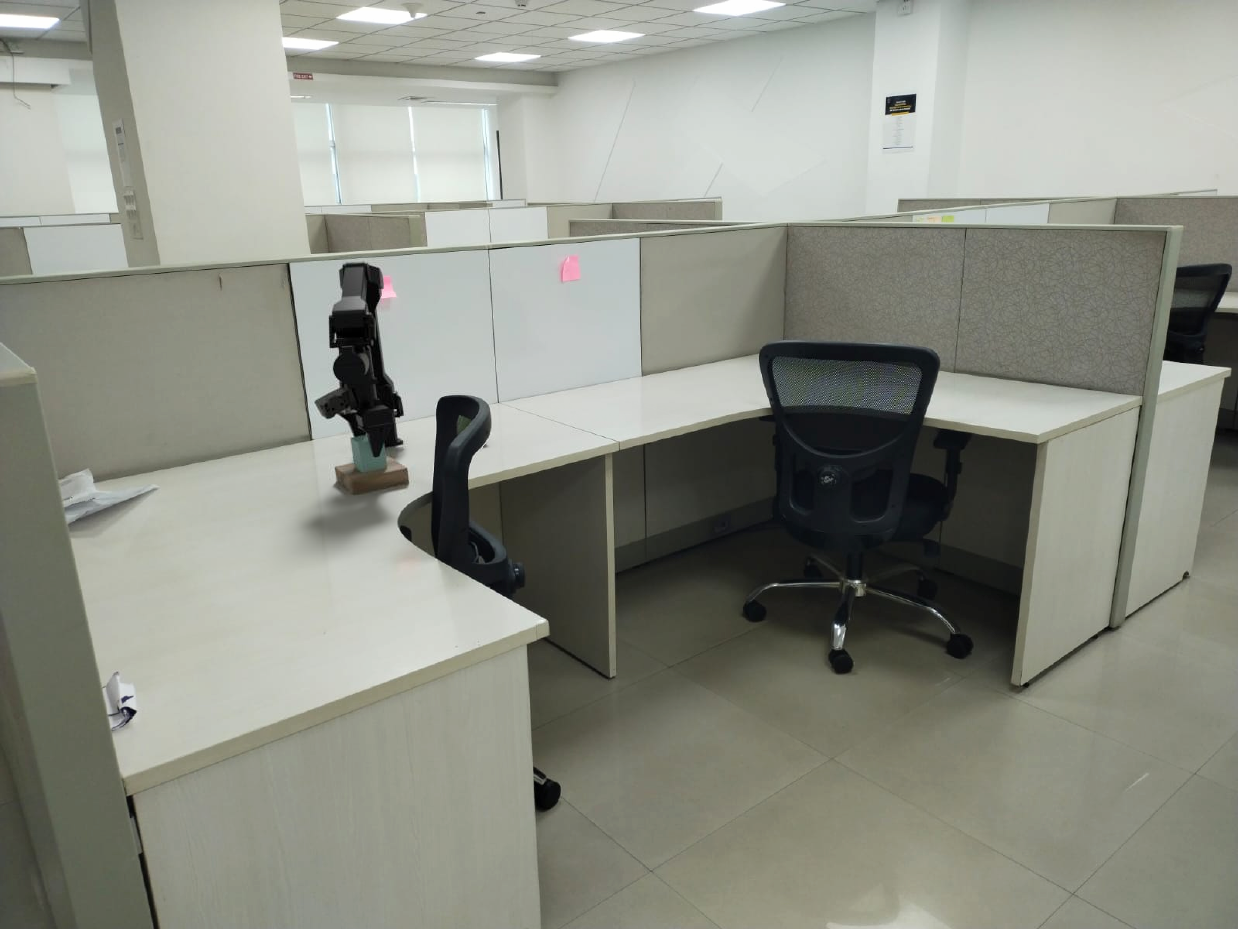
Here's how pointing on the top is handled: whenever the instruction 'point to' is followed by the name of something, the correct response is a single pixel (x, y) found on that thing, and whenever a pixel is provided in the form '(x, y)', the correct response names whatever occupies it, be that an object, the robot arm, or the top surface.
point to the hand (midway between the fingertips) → (368, 451)
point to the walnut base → (371, 477)
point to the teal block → (366, 455)
